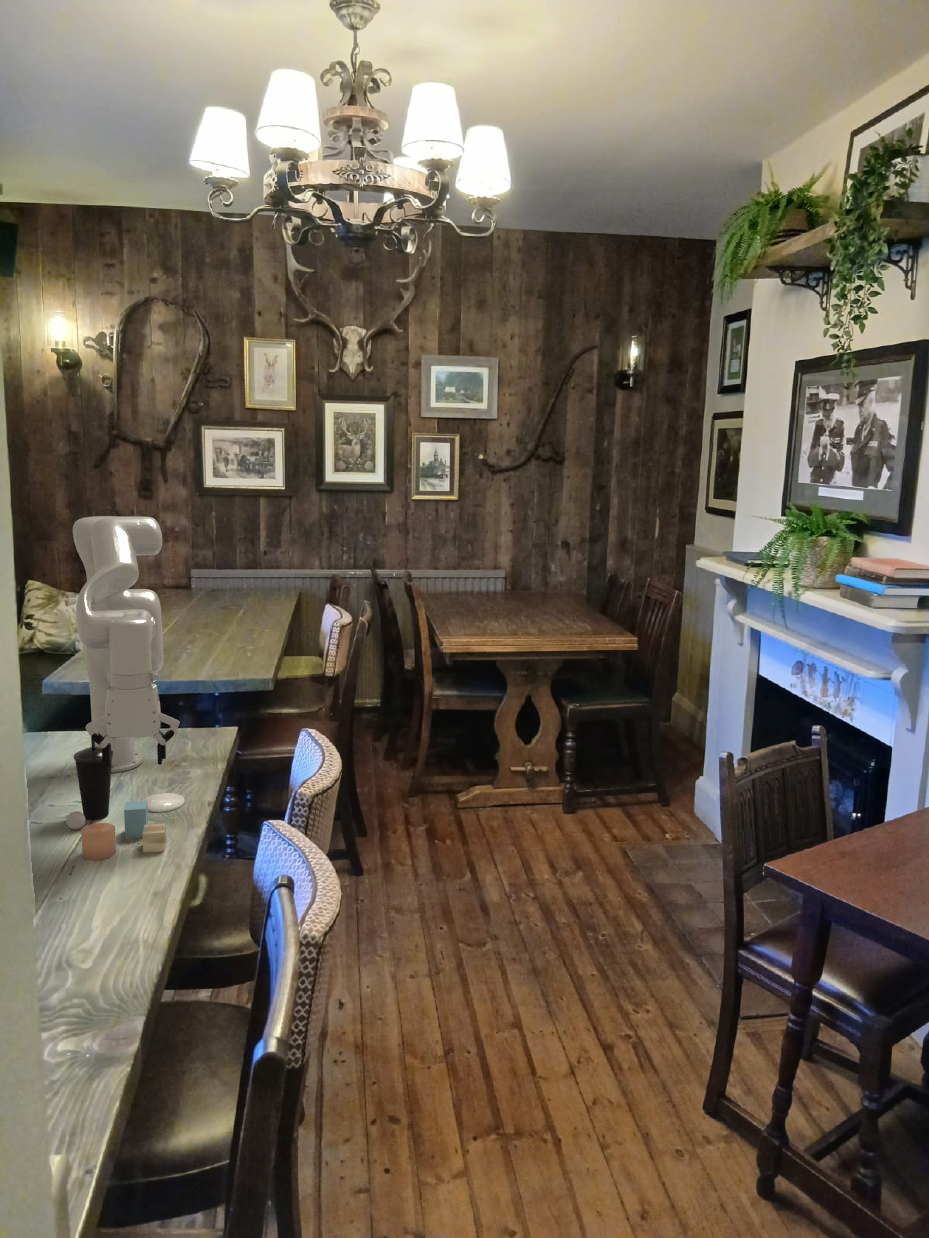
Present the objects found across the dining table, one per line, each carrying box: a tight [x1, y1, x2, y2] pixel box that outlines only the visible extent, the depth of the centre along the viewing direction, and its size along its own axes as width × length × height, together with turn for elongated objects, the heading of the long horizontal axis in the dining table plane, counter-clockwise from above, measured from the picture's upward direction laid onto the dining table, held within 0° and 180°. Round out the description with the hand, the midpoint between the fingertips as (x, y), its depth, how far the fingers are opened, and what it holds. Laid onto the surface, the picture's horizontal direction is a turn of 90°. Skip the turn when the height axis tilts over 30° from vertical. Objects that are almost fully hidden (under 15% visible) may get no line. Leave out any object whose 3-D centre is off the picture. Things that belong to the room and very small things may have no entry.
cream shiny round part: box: [141, 792, 185, 813], centre depth 191 cm, size 9×9×1 cm
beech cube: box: [141, 823, 167, 853], centre depth 171 cm, size 4×4×4 cm
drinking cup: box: [72, 737, 114, 821], centre depth 182 cm, size 8×8×20 cm
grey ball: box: [65, 810, 86, 830], centre depth 178 cm, size 4×4×4 cm
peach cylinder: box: [80, 822, 117, 862], centre depth 168 cm, size 6×6×5 cm
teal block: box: [123, 800, 149, 839], centre depth 177 cm, size 4×4×6 cm
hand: (134, 763), depth 174 cm, fingers open, 9 cm apart
